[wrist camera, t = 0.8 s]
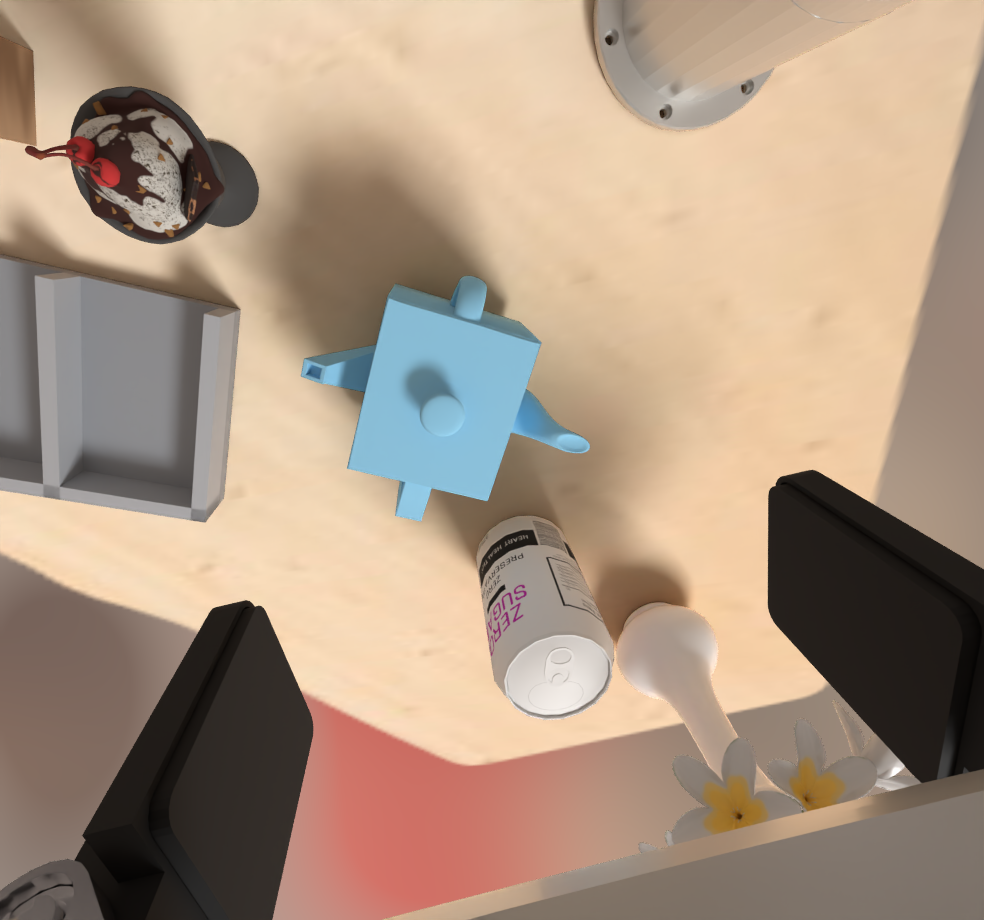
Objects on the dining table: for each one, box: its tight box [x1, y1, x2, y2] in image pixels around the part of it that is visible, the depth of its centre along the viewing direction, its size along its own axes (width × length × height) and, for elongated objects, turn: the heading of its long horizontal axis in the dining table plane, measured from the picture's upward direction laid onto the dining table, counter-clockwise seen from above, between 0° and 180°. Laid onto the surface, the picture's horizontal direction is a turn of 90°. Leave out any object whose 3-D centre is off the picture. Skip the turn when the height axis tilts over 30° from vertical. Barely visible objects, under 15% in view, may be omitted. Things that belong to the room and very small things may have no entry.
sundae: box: [25, 86, 259, 244], centre depth 29 cm, size 7×7×15 cm
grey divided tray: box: [0, 254, 240, 522], centre depth 37 cm, size 15×20×4 cm
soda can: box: [476, 516, 614, 720], centre depth 42 cm, size 8×8×15 cm
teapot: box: [301, 276, 590, 521], centre depth 37 cm, size 16×18×11 cm
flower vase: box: [616, 602, 921, 853], centre depth 42 cm, size 13×18×25 cm
